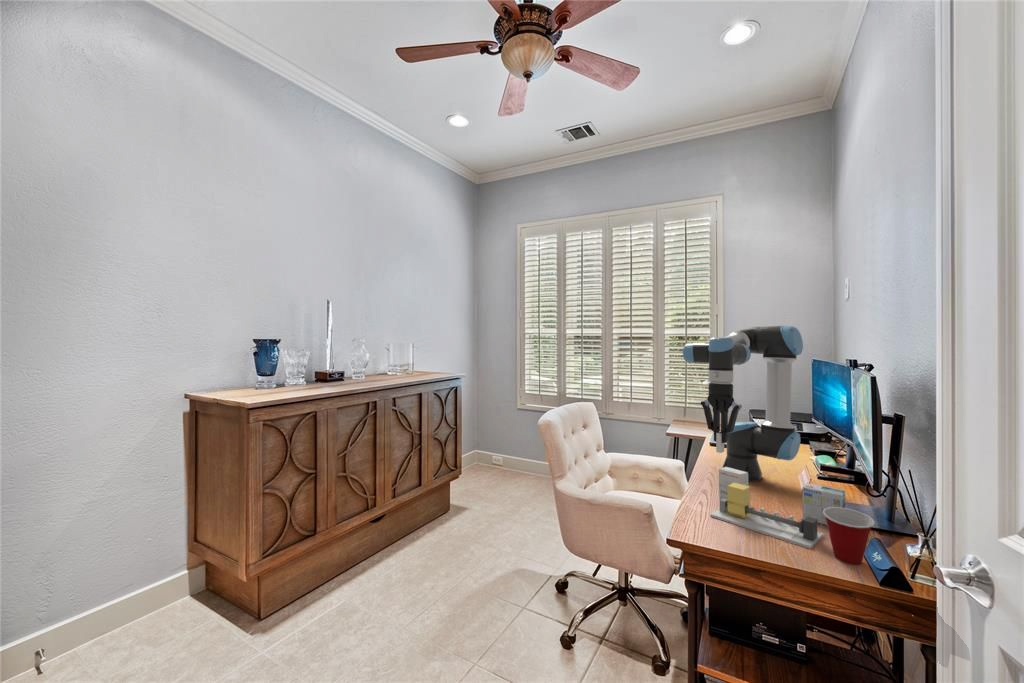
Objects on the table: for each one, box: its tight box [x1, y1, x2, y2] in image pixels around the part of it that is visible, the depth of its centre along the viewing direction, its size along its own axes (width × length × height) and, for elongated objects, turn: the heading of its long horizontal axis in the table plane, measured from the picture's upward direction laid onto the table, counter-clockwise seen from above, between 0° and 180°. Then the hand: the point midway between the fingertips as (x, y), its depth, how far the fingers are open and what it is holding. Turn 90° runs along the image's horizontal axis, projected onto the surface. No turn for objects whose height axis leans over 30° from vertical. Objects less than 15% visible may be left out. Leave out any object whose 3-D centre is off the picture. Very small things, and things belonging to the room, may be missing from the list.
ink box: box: [718, 467, 750, 501], centre depth 149 cm, size 9×5×12 cm, turn 33°
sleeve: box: [728, 483, 751, 518], centre depth 136 cm, size 5×5×9 cm
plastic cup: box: [823, 507, 875, 566], centre depth 110 cm, size 11×11×12 cm
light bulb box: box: [802, 482, 846, 526], centre depth 134 cm, size 11×7×11 cm, turn 45°
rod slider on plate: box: [710, 498, 824, 550], centre depth 130 cm, size 28×12×6 cm, turn 39°
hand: (720, 451), depth 141 cm, fingers closed
